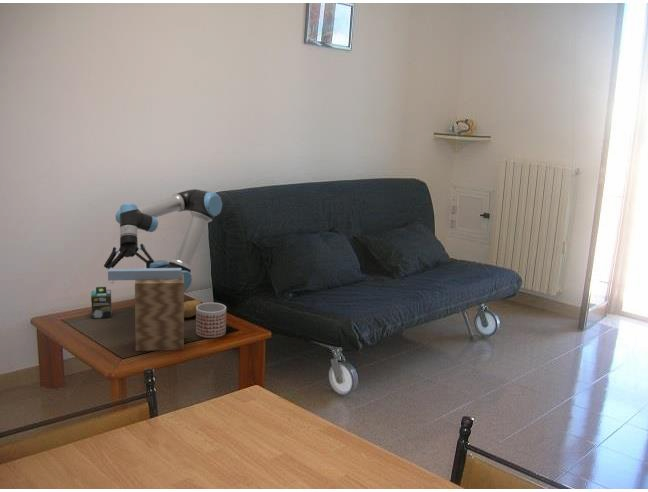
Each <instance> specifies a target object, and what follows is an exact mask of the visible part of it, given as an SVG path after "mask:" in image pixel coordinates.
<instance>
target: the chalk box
mask: <svg viewBox="0 0 648 492" xmlns="http://www.w3.org/2000/svg"><path fill="white" fill-rule="evenodd" d="M90 294H91V295H90V301H91V302H90V303H91V318H92V319H109V318H112V315H113V308H112V307H113V304H112V291H111V289H107V286H96V287H95V290H92V291H91V293H90Z"/></svg>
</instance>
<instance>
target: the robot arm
mask: <svg viewBox="0 0 648 492" xmlns="http://www.w3.org/2000/svg"><path fill="white" fill-rule="evenodd" d="M222 208H223V201H222V198H221V197H220V195H219V194H217V193H216V192H212V191H206V190H200V189H194V188H193V189H188V190H184V191H180V192H177V193H174V194H173V195H172V196H170V197H167V198H163V199H160V200H156V201H154V202H150V203H146V204H143V205H140V206H137V205H136V204H135V203H130V202H127V203H123V204H121V205H120V208H119V210H118V211H116V213H115V221H116V222H117V223H118V224H119V247H115V246H113V247H112V250H111V253H110V254H109V256H108V258H107V259H106V261H105V263H104V265H103V267H104V268H105V269H107V271H108V270H109V269H114V267H116V265H117V264H119V262H120V261H121V260H122V259H124V258H133V257H134V256H136V257H138V258H139V259H140V260H141V261H143V262H144V263H143V265H144V266H143V268H181V274H184V292H185V291H188V289H189V288H190V286H191V284H192V280H193V277H192V274H191V271H192V268H191V263H192V262H193V259H194V257H195V255H196V252H197V249H198V247H199V245H200V243H201V239H202V238H203V235H204V232H205V230H206V228H207V225H208V223H210V222H211V223H212V221H213V220H214V217H218V215H220V214H221V212H222ZM184 211H185V212H186V211H188V212H190V215H191V217H190V220H189V222H188V225H187V227H186V229H185V231H184V234H183V236H182V239H181V241H180V243H179V246H178V249H177V251H176V253H175V256H174V258H173V259H172V260H171V259H170V260H169V261H167V260H161V259H160V260H154V259H153V257H152V256H151V254H149V252H148V251H147V250H146V247H145V245H144V244H143V243H140V244H139V245H138V230H142V231H145V232H149V233H153V232H155V231H156V230H157V229H158V225H159V220H158V219H157V218H158V217H162V216H165V215H168V214H171V213H174V212H178V213H182V212H184ZM139 250H140V251H142V253H144V255H145V256H146V258H147V259H146V258H145V257H144V256H143V255H141V254H139ZM117 254H118V255H117ZM110 283H111V284H115V280H111V281H110Z"/></svg>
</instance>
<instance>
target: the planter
mask: <svg viewBox="0 0 648 492" xmlns="http://www.w3.org/2000/svg"><path fill="white" fill-rule="evenodd" d="M226 333H227V306H226V305H225V304H223V303H219V302H204V303H201V304H200V305H198V306H197V307H196V315H195V334H196V336H198V337H201V338H205V339H217V338H222V337H223V336H225V335H226Z"/></svg>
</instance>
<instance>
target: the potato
mask: <svg viewBox="0 0 648 492" xmlns="http://www.w3.org/2000/svg"><path fill="white" fill-rule="evenodd" d="M200 304H202V303H201V301H199V300H197V299H193V300H192V299H191V300H187V301H184V319H185V318H186V319H189V318H193V317H194V316H195V317H196V307H197V306H198V305H200Z"/></svg>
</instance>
